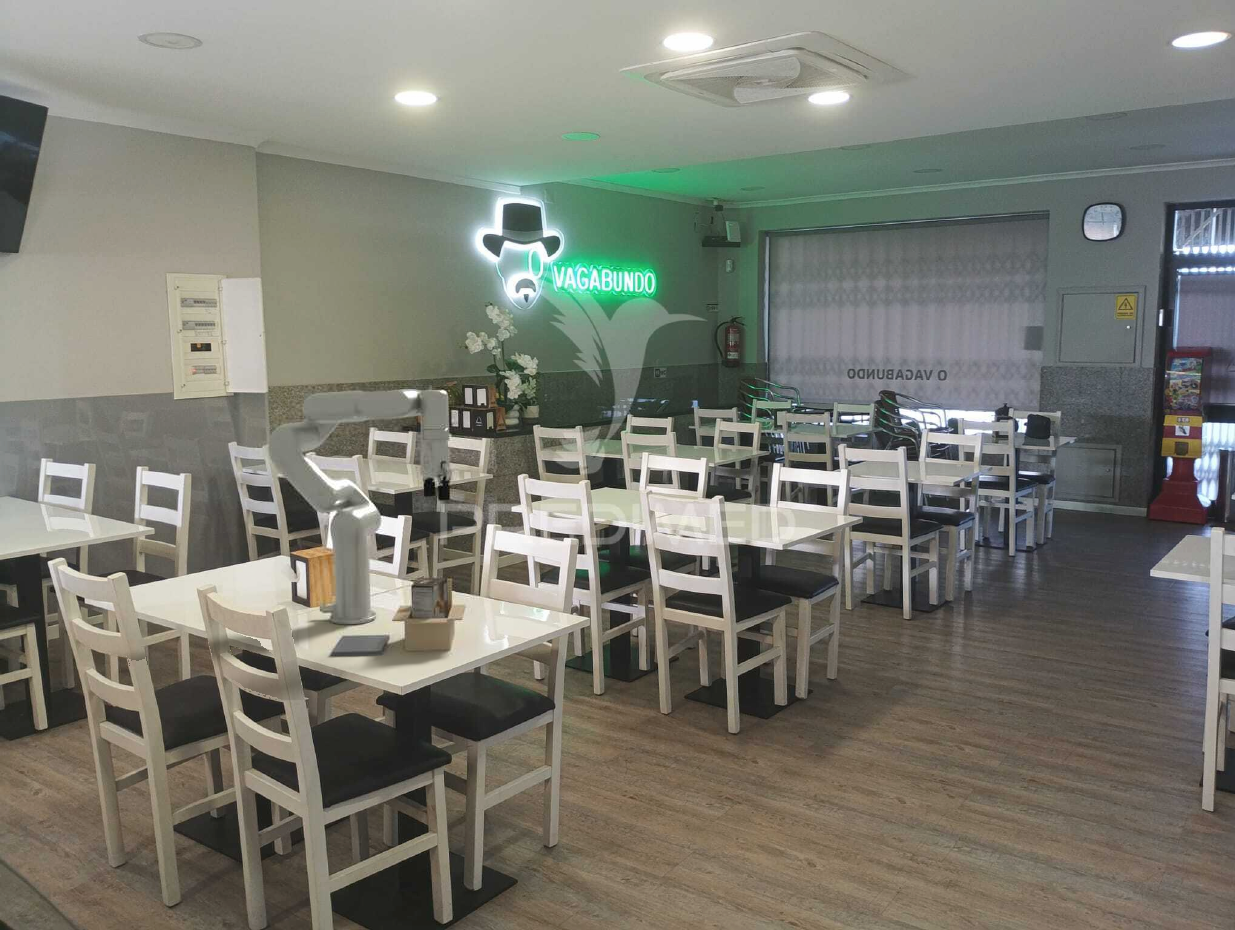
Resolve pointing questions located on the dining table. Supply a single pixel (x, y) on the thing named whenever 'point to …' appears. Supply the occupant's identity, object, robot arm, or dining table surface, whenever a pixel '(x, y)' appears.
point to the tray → (360, 645)
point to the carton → (430, 626)
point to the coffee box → (430, 599)
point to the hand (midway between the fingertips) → (436, 498)
